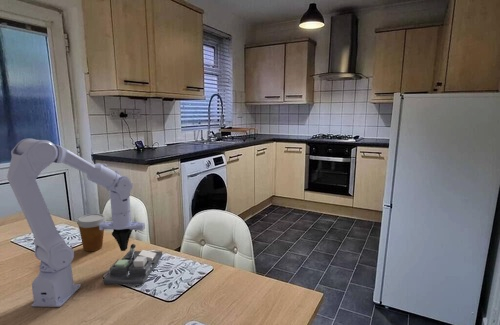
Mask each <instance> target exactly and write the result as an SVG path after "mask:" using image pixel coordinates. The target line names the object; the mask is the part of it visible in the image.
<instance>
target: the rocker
mask: <svg viewBox="0 0 500 325" xmlns="http://www.w3.org/2000/svg"><path fill="white" fill-rule="evenodd" d="M140 251H141V252H140V254H139V255H138V256H144V257H147V260H153V259H154V257H155V256H156V253H154V252H150V251H151V250H150V251H149V250H146V249H142V250H140Z"/></svg>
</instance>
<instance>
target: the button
mask: <svg viewBox="0 0 500 325" xmlns="http://www.w3.org/2000/svg"><path fill="white" fill-rule="evenodd" d="M117 260H118V261H117ZM117 260H116V261H117V263H116V264H115V267H126V266H127V265H128V263H129V262H128V260H121V259H117Z"/></svg>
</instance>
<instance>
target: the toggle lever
mask: <svg viewBox="0 0 500 325" xmlns="http://www.w3.org/2000/svg"><path fill="white" fill-rule="evenodd" d="M135 249H136V244H134V243H132V244H131V245H130V248H129V251H128V252H129V255H128V257H132V258H133V254H134V251H136V250H135Z"/></svg>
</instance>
